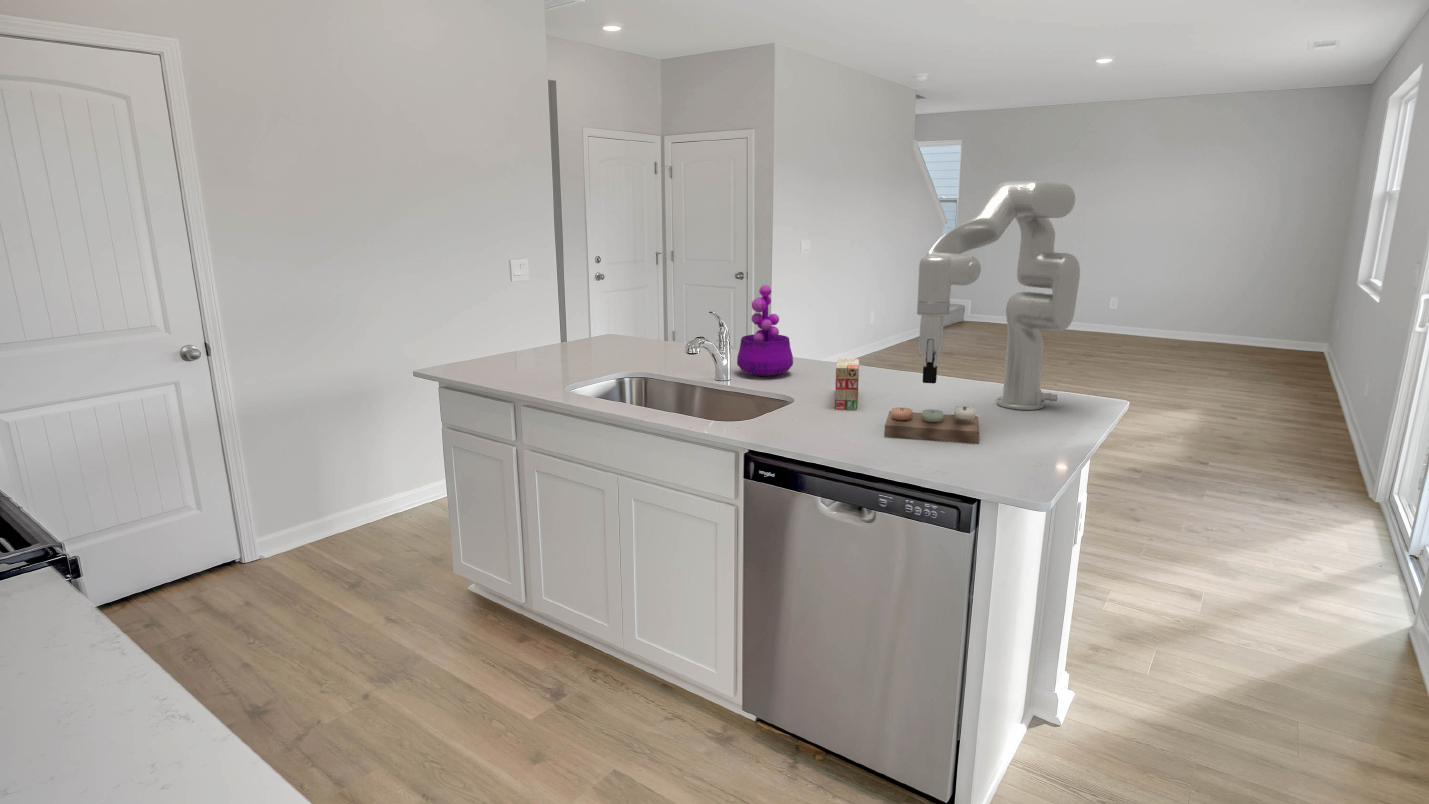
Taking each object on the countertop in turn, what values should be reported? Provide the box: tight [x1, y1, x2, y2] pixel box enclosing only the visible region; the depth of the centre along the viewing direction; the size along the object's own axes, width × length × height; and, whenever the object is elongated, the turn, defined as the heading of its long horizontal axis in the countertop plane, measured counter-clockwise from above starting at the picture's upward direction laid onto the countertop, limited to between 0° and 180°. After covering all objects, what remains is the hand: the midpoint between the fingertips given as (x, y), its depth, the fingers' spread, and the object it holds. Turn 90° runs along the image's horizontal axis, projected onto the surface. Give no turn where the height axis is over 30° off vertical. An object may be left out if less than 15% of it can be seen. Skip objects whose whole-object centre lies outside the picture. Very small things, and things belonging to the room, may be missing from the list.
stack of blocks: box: [834, 358, 860, 411], centre depth 225 cm, size 21×6×12 cm, turn 169°
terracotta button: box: [891, 406, 913, 420], centre depth 196 cm, size 5×5×2 cm
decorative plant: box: [736, 284, 794, 377], centre depth 259 cm, size 19×19×30 cm
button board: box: [883, 410, 980, 444], centre depth 195 cm, size 22×14×3 cm, turn 73°
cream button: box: [953, 405, 976, 419], centre depth 191 cm, size 5×5×2 cm
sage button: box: [921, 408, 944, 422], centre depth 194 cm, size 5×5×2 cm
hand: (929, 382), depth 192 cm, fingers closed
